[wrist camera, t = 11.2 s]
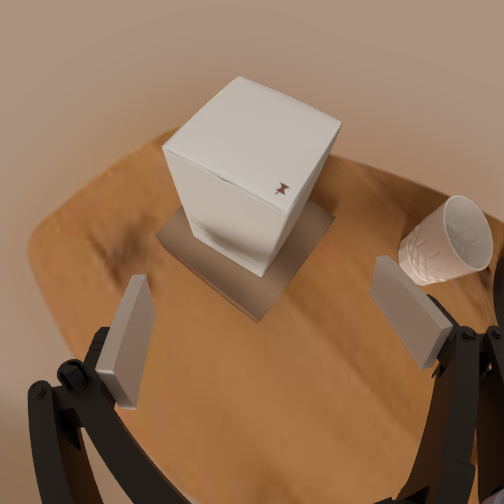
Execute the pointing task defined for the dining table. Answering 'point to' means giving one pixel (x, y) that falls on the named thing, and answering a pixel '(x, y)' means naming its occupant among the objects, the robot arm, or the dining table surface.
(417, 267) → the white cup
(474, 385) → the robot arm
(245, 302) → the walnut block
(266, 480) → the dining table surface
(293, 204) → the supplement box
